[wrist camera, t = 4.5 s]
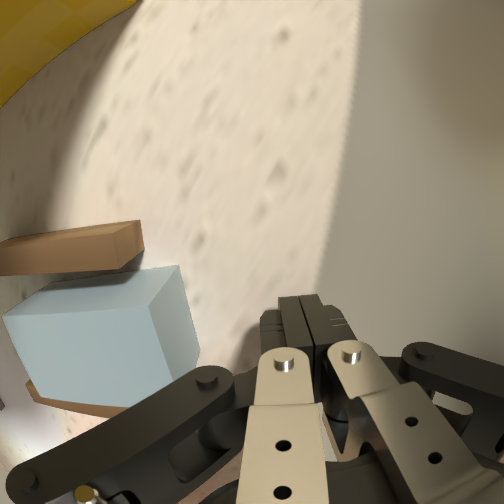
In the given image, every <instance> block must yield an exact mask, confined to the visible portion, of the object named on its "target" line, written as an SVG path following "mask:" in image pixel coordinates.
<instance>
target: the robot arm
mask: <svg viewBox="0 0 504 504" xmlns="http://www.w3.org/2000/svg"><path fill="white" fill-rule="evenodd" d="M260 329H261V354H262V356H261V357H260V359H259V363H258V365H257V366H256V367H255V368H254V369H252V370H251V371H248V372H246V373H243V374H240V375H236V376H233V375H232V374H231V372H230V371H229V370H227V369H225V368H223V367H220V366H202V367H198V368H195V369H193V370H191V371H189V372H188V373H186V374H185V375H183V376H181V377H180V378H178V379H177V380H175V381H173V382H172V383H170V384H168V385H167V386H165V387H164V388H162V389H160V390H159V391H157V392H155V393H154V394H152V395H150V396H149V397H147V398H145V399H144V400H142V401H140V402H138V403H137V404H135V405H133V406H131V407H130V408H128V409H126V410H125V411H123V412H121V413H119V414H117V415H116V416H114V417H112V418H110V419H108V420H107V421H105V422H103V423H101V424H99V425H97V426H96V427H94V428H92V429H90V430H88V431H86V432H84V433H82V434H81V435H79V436H77V437H75V438H73V439H71V440H69V441H67V442H65V443H63V444H61V445H59V446H57V447H55V448H53V449H51V450H49V451H47V452H45V453H42V454H40V455H38V456H36V457H34V458H32V459H30V460H27V461H25V462H23V463H21V464H19V465H17V466H16V467H14V468H13V469H12V470H11V471H10V473H9V474H8V476H7V479H6V491H7V494H8V496H9V498H10V499H11V500H12V501H13V502H14V503H15V504H177V503H178V502H179V501H181V500H182V499H183V498H185V497H186V496H187V495H189V494H190V493H191V492H193V491H194V490H195V489H196V488H198V487H199V486H200V485H202V484H203V483H204V482H205V481H206V480H208V479H209V478H210V477H211V476H213V475H214V474H215V473H216V472H217V471H219V470H220V469H221V468H222V467H223V466H224V465H226V464H227V463H228V462H229V461H230V460H231V459H232V458H234V457H235V456H236V455H237V454H238V453H239V452H240V451H241V450H242V448H243V445H244V450H243V457H242V464H241V471H240V478H239V479H238V480H235V481H233V482H231V483H228V484H226V485H224V486H222V487H221V488H219V489H217V490H216V491H214V492H213V493H211V494H210V495H208V496H207V497H206V498H205V499H204V500H202V501H201V502H200V503H199V504H504V366H502V365H499V364H496V363H492V362H489V361H486V360H482V359H479V358H476V357H473V356H469V355H466V354H463V353H460V352H457V351H454V350H451V349H448V348H444V347H442V346H438V345H435V344H432V343H428V342H415V343H411V344H409V345H407V346H406V347H405V348H404V349H403V352H402V356H401V357H383V356H378V354H377V353H376V352H375V350H374V349H373V348H372V347H371V346H370V345H368V344H367V343H364V342H361V341H358V340H357V339H356V337H355V335H354V333H353V331H352V330H351V328H350V326H349V325H348V323H347V321H346V319H344V316H343V314H342V313H341V311H340V310H339V309H337V308H336V307H334V306H333V305H326V306H323V305H322V303H321V301H320V299H319V296H318V295H317V294H312V295H301V296H298V297H297V296H290V297H278V310H271V311H265V312H264V313H263V315H262V316H261V317H260ZM436 391H437V392H440V393H442V394H445V395H448V396H450V397H453V398H456V399H459V400H461V401H464V402H467V403H469V404H470V405H471V406H472V408H473V412H472V413H471V414H469V415H461V414H459V413H456V412H453V411H451V410H448V409H446V408H443V407H440V406H438V405H435V404H434V403H433V402H432V400H433V397H434V395H435V392H436ZM319 402H322V404H323V417H322V418H323V423H324V426H325V428H326V431H327V434H328V436H329V439H330V442H331V445H332V448H333V450H334V453H335V456H336V459H337V462H329V461H325V459H324V458H325V457H324V448H323V440H322V432H321V424H320V416H319V408H318V404H317V403H319Z"/></svg>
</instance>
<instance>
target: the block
mask: <svg viewBox="0 0 504 504" xmlns="http://www.w3.org/2000/svg"><path fill="white" fill-rule="evenodd" d="M1 317H2V319H3V322H4V324H5V327H6V329H7V331H8V334H9V336H10V338H11V341H12V343H13V345H14V347H15V349H16V351H17V353H18V356H19V358H20V360H21V362H22V364H23V366H24V368H25V369H26V371H27V373H28V375H29V377H30V379H31V381H32V382H33V384H34V386H35V388H36V389H37V391H38V393H39V395H40V396H41V397H44V398H50V399H56V400H62V401H69V402H76V403H84V404H93V405H104V406H116V407H131V406H133V405H135V404H137V403H138V402H140V401H142V400H144V399H145V398H147V397H149V396H150V395H152V394H154V393H155V392H157V391H159V390H160V389H162V388H164V387H165V386H167V385H168V384H170V383H172V382H173V381H175V380H177V379H178V378H180V377H181V376H183V375H185V374H186V373H188V372H189V371H191V370H193V369H195V367H196V363H197V360H198V356H199V353H200V346H199V343H198V339H197V335H196V332H195V328H194V324H193V320H192V317H191V313H190V309H189V305H188V301H187V297H186V293H185V289H184V285H183V280H182V276H181V272H180V267H179V265H173V266H167V267H160V268H153V269H146V270H139V271H132V272H125V273H118V274H111V275H104V276H97V277H90V278H83V279H76V280H69V281H62V282H54V283H49V284H48V285H46V286H45V287H43V288H42V289H40V290H39V291H37V292H36V293H34V294H33V295H31V296H30V297H28V298H27V299H25V300H24V301H22V302H21V303H19V304H18V305H17V306H15V307H14V308H12V309H11V310H9V311H8V312H7V313H5V314H4V315H2V316H1Z"/></svg>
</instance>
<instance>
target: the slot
mask: <svg viewBox="0 0 504 504" xmlns="http://www.w3.org/2000/svg"><path fill="white" fill-rule="evenodd" d="M143 250H144V243H143V237H142V230H141V223H140V220H135V221H126V222H118V223H111V224H103V225H95V226H88V227H81V228H74V229H67V230H61V231H54V232H48V233H41V234H35V235H29V236H23V237H17V238H12V239H8V240H5V241H3V242H0V276H11V275H29V274H47V273H64V272H80V271H96V270H112V269H120V268H121V267H122V266H124V265H125V264H126V263H128V262H129V261H130V260H131V259H133V258H134V257H135V256H137V255H138V254H139V253H140V252H142V251H143ZM25 385H26V387H27V389H28V391H29V393H30V395H31V396H32V398H33V400H34V402H37V403H41V404H44V405H48V406H52V407H56V408H60V409H64V410H68V411H73V412H78V413H82V414H87V415H93V416H98V417H104V418H112V417H114V416H116V415H117V414H119V413H121V412H123V411H125V410H126V409H128V408H130V407H116V406H104V405H93V404H84V403H76V402H69V401H62V400H56V399H50V398H44V397H41V396H40V395H39V393H38V391H37V389H36V388H35V386H34V384H33V382H32V381H31V379H30V380H29V381H28V382H27V383H26V384H25Z"/></svg>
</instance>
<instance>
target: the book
mask: <svg viewBox="0 0 504 504" xmlns="http://www.w3.org/2000/svg"><path fill="white" fill-rule="evenodd" d="M137 1H138V0H0V108H1V107H2V106H3V105H4V104H5V103H6V102H7V101H8V100H9V99H10V98H11V97H12V96H13V95H14V94H15V93H16V92H17V91H18V90H19V89H20V88H21V87H22V86H23V85H24V84H25V83H26V82H27V81H28V80H29V79H30V78H31V77H33V76H34V75H35V74H36V73H37V72H38V71H39V70H40V69H42V68H43V67H44V66H45V65H46V64H48V63H49V62H50V61H51V60H52V59H54V58H55V57H56V56H57V55H59V54H60V53H61V52H63V51H64V50H65V49H66V48H68V47H69V46H70V45H72V44H73V43H75V42H76V41H77V40H79V39H80V38H82V37H83V36H84V35H86V34H87V33H89V32H90V31H92V30H93V29H95V28H96V27H98V26H99V25H101V24H103V23H104V22H106V21H107V20H109V19H111V18H112V17H114V16H116V15H117V14H119V13H121V12H123V11H124V10H126V9H128V8H130V7H131V6H132V5H134V4H135V3H136V2H137Z"/></svg>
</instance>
